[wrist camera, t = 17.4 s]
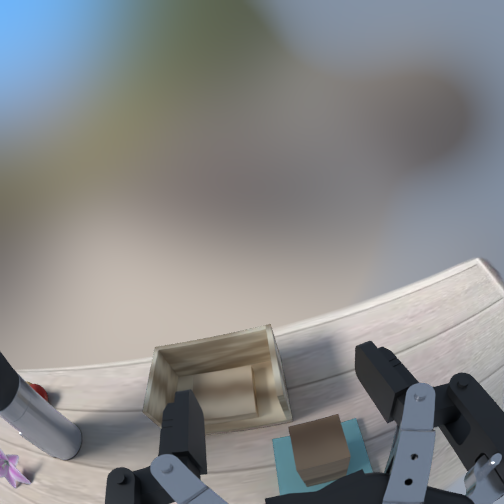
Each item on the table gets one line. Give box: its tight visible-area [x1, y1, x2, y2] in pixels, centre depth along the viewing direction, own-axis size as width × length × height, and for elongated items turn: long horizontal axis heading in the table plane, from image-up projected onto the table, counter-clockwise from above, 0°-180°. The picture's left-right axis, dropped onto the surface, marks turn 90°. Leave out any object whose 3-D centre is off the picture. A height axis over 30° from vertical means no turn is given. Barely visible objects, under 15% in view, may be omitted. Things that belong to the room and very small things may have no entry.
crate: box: [143, 324, 293, 435], centre depth 39 cm, size 13×20×9 cm, turn 95°
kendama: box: [25, 381, 48, 402], centre depth 43 cm, size 8×6×18 cm
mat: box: [272, 418, 373, 495], centre depth 27 cm, size 12×12×1 cm
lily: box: [0, 449, 31, 488], centre depth 24 cm, size 12×12×10 cm
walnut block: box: [288, 414, 351, 487], centre depth 24 cm, size 5×5×12 cm
